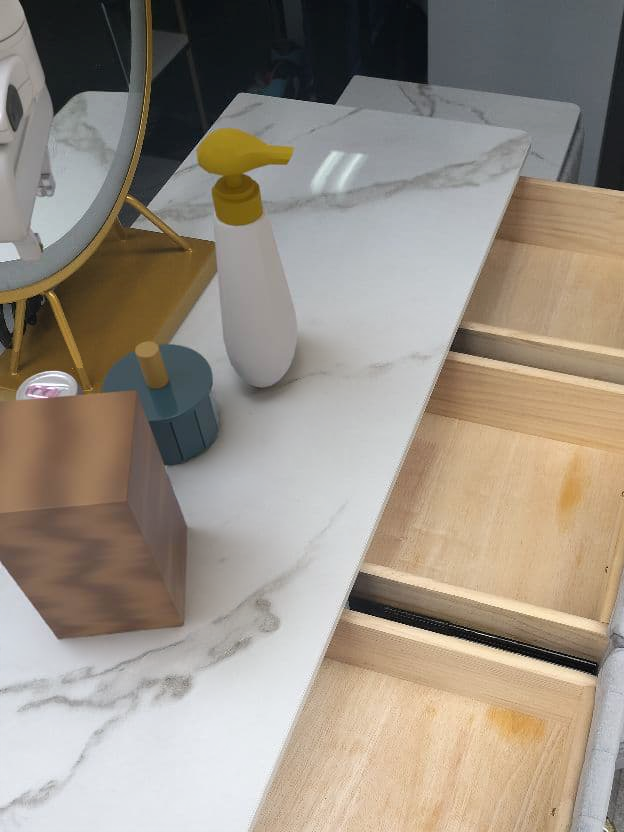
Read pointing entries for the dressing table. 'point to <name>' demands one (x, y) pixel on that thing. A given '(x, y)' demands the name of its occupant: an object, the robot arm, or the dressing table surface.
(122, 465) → the stand
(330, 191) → the dressing table surface
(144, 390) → the lid
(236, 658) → the dressing table surface
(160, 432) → the pot
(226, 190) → the soap bottle
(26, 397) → the beverage can
